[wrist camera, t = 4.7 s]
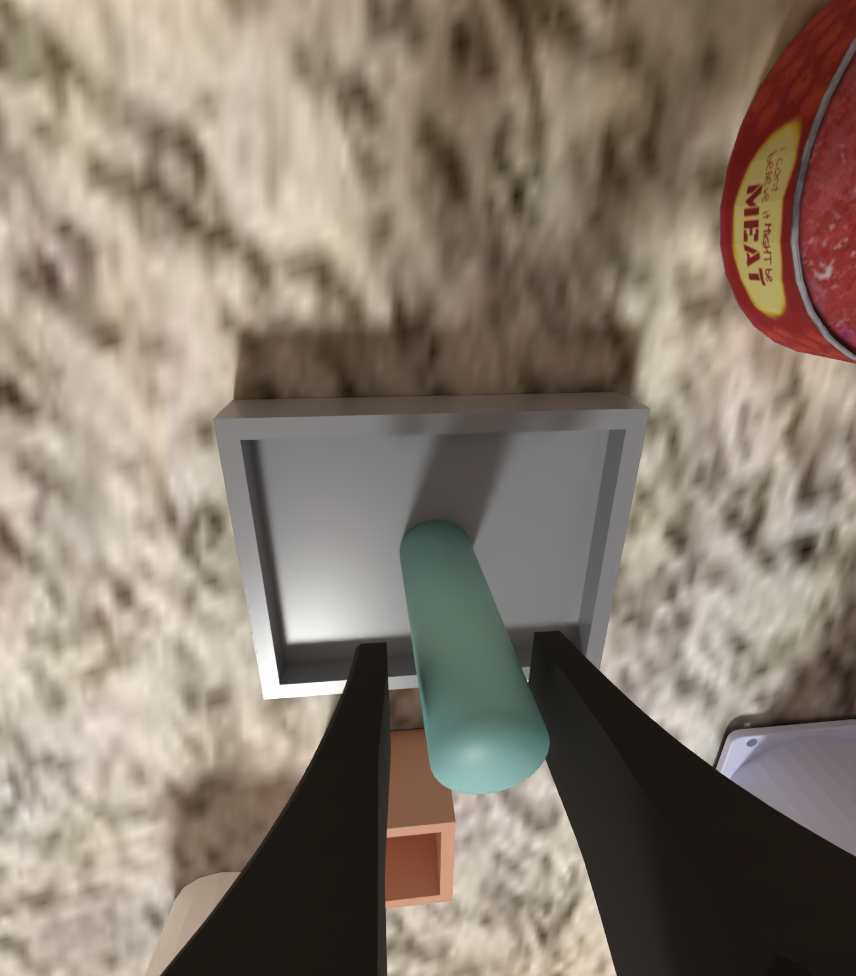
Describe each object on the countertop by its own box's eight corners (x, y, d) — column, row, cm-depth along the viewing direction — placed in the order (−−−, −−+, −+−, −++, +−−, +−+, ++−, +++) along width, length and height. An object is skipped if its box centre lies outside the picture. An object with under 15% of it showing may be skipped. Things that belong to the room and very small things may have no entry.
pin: (472, 517, 16) (556, 702, 9) (469, 579, 17) (542, 786, 10) (398, 522, 16) (430, 716, 9) (400, 584, 17) (428, 800, 10)
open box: (441, 726, 21) (455, 821, 18) (440, 802, 23) (452, 900, 20) (324, 736, 21) (313, 836, 17) (332, 812, 23) (325, 915, 19)
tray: (618, 391, 16) (649, 408, 14) (578, 636, 20) (598, 673, 18) (232, 399, 15) (213, 418, 13) (274, 657, 19) (264, 699, 17)
